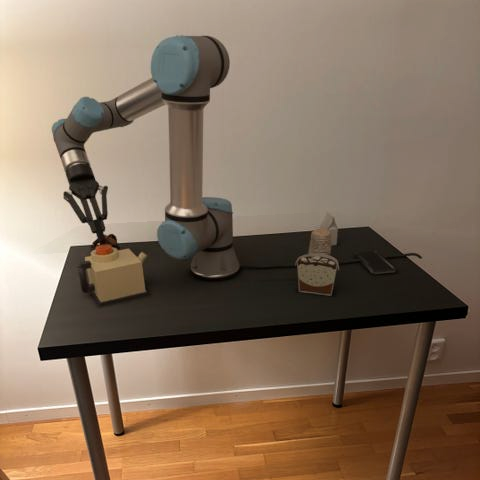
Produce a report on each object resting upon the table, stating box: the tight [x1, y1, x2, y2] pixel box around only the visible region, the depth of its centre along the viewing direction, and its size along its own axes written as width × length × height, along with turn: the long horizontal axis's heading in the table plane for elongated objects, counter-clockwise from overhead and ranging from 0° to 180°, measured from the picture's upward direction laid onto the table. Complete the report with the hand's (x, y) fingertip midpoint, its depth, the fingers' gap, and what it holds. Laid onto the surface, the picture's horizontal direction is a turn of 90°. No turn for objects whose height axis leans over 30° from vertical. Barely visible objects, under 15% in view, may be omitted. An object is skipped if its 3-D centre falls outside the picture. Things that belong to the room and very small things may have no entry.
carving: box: [307, 228, 332, 256], centre depth 155 cm, size 6×8×12 cm
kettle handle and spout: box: [76, 251, 149, 307], centre depth 142 cm, size 20×13×11 cm, turn 119°
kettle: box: [84, 247, 147, 302], centre depth 142 cm, size 13×12×12 cm
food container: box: [294, 253, 340, 297], centre depth 141 cm, size 12×6×10 cm, turn 71°
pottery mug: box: [89, 233, 122, 252], centre depth 169 cm, size 12×10×8 cm
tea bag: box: [320, 211, 339, 246], centre depth 174 cm, size 4×7×10 cm, turn 12°
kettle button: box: [96, 244, 112, 255], centre depth 140 cm, size 4×4×2 cm
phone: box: [355, 251, 397, 275], centre depth 158 cm, size 8×1×15 cm
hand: (102, 241), depth 139 cm, fingers closed
